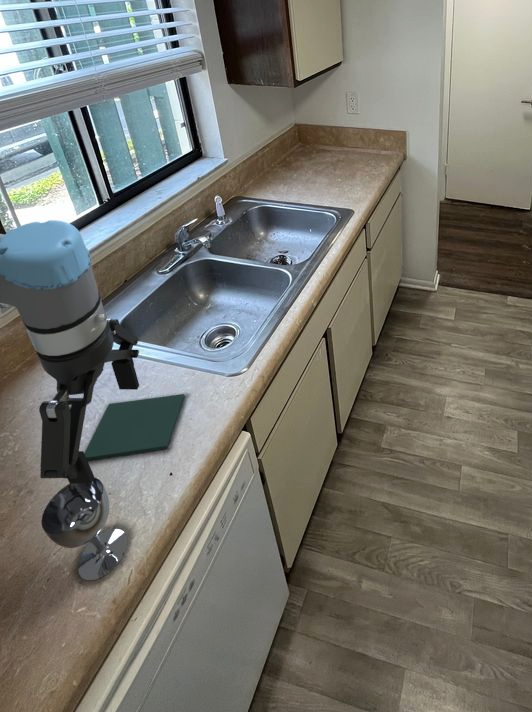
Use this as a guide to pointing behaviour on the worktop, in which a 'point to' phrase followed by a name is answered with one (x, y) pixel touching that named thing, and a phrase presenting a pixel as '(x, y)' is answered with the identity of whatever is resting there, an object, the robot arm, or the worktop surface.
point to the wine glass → (85, 527)
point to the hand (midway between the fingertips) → (108, 429)
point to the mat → (135, 427)
